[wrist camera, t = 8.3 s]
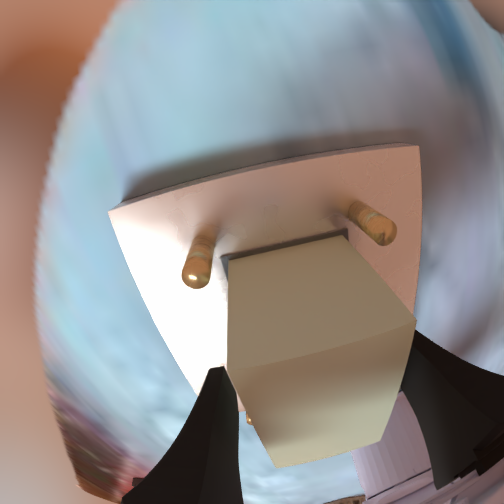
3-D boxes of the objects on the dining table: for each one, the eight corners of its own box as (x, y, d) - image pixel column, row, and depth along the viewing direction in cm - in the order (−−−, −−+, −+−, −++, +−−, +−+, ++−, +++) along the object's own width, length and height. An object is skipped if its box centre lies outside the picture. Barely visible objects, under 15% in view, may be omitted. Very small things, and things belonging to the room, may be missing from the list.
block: (346, 358, 15) (379, 440, 9) (264, 378, 15) (276, 468, 10) (342, 234, 11) (417, 320, 6) (228, 260, 12) (226, 371, 6)
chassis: (393, 355, 18) (414, 393, 14) (211, 399, 18) (209, 444, 14) (401, 142, 11) (454, 153, 8) (120, 202, 12) (80, 232, 8)
